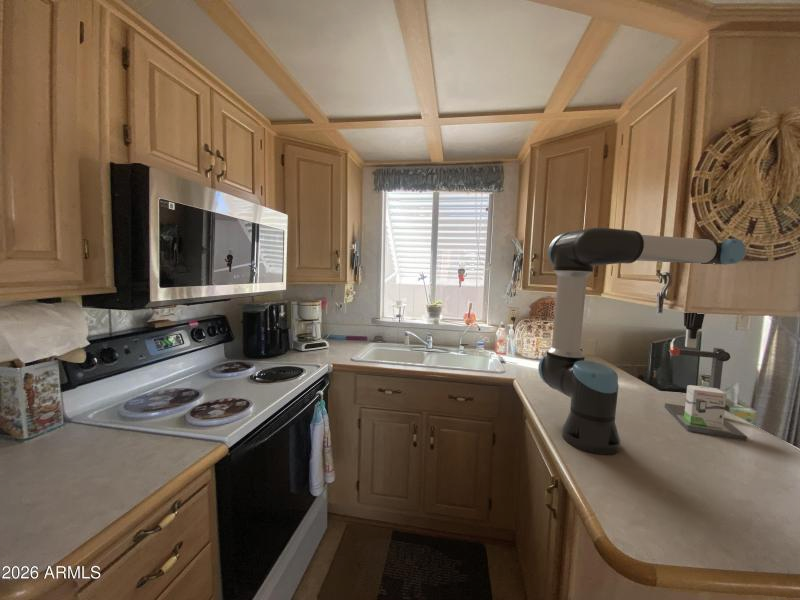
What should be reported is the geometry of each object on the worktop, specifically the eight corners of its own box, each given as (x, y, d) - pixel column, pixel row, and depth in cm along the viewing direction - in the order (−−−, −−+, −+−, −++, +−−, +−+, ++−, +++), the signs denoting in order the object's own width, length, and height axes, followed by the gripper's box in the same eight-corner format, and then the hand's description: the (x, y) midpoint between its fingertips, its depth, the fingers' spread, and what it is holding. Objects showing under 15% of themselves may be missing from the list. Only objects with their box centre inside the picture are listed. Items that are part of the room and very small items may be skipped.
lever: (730, 362, 111) (731, 352, 111) (670, 356, 118) (671, 346, 117) (725, 360, 114) (726, 350, 114) (667, 354, 121) (668, 345, 120)
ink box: (690, 423, 106) (693, 389, 105) (683, 417, 111) (686, 384, 110) (723, 428, 103) (727, 393, 102) (714, 422, 108) (718, 388, 107)
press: (746, 441, 99) (755, 362, 97) (687, 430, 105) (694, 356, 103) (712, 414, 119) (720, 347, 116) (664, 406, 124) (670, 343, 122)
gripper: (720, 283, 107) (712, 352, 109) (701, 282, 119) (695, 344, 121) (691, 282, 110) (684, 349, 112) (676, 281, 122) (670, 342, 124)
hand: (690, 347), depth 117 cm, fingers closed
